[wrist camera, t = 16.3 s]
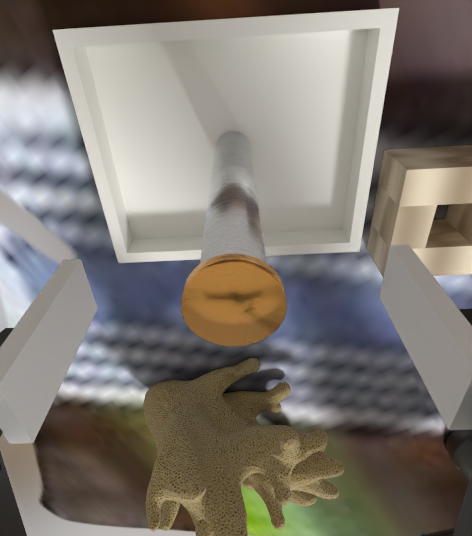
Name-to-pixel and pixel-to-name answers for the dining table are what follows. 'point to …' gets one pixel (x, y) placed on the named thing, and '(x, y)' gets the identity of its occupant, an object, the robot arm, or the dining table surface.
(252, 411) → the decorative coral
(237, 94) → the tray
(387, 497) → the dining table surface
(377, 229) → the pin block
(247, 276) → the steel pin
